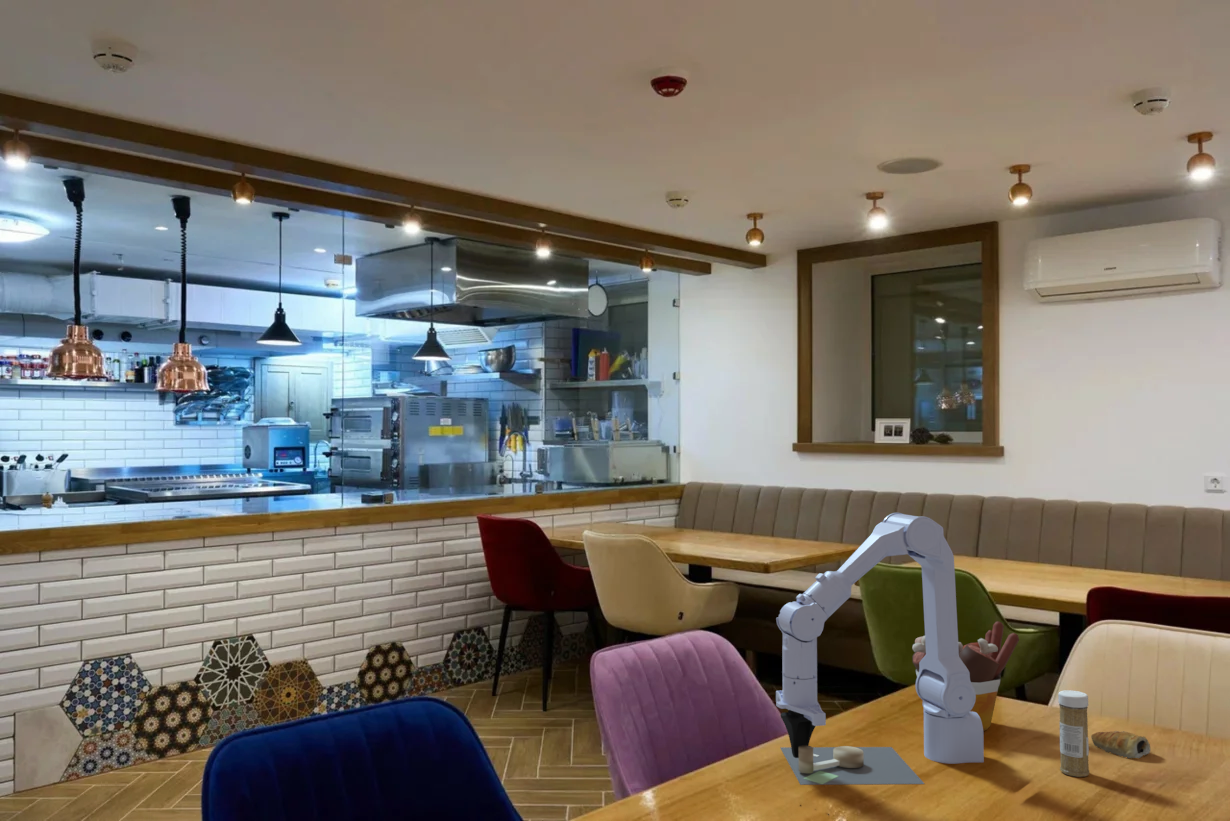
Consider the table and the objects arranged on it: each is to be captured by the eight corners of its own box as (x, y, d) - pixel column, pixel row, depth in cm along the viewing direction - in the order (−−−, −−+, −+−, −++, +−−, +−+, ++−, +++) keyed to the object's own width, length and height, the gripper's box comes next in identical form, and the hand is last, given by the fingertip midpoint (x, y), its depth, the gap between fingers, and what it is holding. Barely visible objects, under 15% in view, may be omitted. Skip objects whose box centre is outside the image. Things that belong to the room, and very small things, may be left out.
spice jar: (1094, 774, 159) (1093, 693, 160) (1079, 779, 157) (1078, 698, 157) (1069, 766, 163) (1067, 687, 164) (1053, 771, 161) (1052, 691, 161)
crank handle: (850, 756, 164) (849, 733, 164) (869, 765, 160) (869, 741, 160) (790, 767, 158) (790, 744, 159) (809, 777, 154) (809, 753, 154)
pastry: (1083, 747, 174) (1082, 726, 174) (1104, 741, 177) (1104, 720, 178) (1133, 762, 166) (1133, 740, 166) (1154, 755, 170) (1154, 733, 170)
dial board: (891, 753, 170) (891, 746, 170) (924, 791, 152) (924, 783, 152) (780, 754, 170) (780, 747, 170) (800, 792, 152) (800, 784, 152)
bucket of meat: (935, 740, 177) (934, 633, 178) (895, 714, 193) (894, 617, 194) (1033, 735, 180) (1031, 630, 181) (985, 710, 197) (984, 614, 197)
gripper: (759, 666, 165) (759, 745, 165) (797, 687, 151) (797, 773, 151) (796, 664, 167) (797, 741, 166) (837, 684, 153) (837, 769, 152)
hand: (799, 756), depth 159 cm, fingers closed
